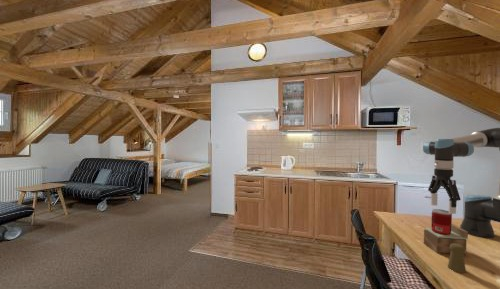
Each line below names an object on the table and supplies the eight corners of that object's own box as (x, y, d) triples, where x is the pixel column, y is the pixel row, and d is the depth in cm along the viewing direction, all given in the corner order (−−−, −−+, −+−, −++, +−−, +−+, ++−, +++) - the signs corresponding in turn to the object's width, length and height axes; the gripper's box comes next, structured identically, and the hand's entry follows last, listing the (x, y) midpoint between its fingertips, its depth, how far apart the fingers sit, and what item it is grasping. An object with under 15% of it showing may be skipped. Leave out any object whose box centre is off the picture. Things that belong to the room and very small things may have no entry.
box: (449, 245, 126) (450, 231, 126) (465, 255, 115) (466, 239, 115) (423, 243, 127) (424, 229, 127) (437, 253, 117) (437, 238, 116)
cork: (446, 269, 102) (447, 244, 102) (448, 264, 107) (449, 240, 106) (465, 275, 98) (466, 249, 98) (466, 269, 102) (467, 244, 102)
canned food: (454, 235, 117) (455, 214, 116) (436, 234, 118) (437, 212, 118) (445, 229, 124) (445, 209, 124) (428, 228, 126) (428, 208, 125)
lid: (451, 230, 125) (451, 223, 125) (467, 239, 115) (467, 231, 114) (425, 229, 127) (425, 222, 127) (438, 237, 116) (439, 230, 116)
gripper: (421, 165, 133) (420, 202, 134) (453, 172, 108) (452, 217, 109) (435, 165, 132) (434, 202, 133) (471, 172, 107) (470, 217, 108)
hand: (442, 209), depth 121 cm, fingers open, 13 cm apart
